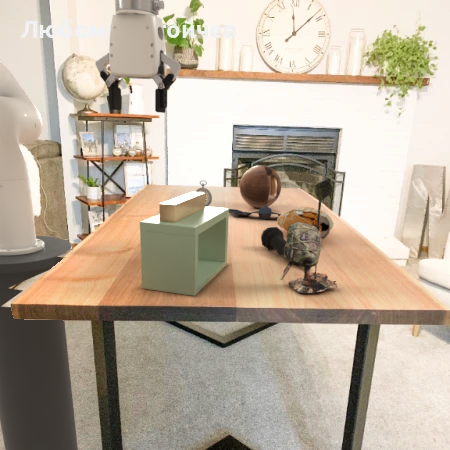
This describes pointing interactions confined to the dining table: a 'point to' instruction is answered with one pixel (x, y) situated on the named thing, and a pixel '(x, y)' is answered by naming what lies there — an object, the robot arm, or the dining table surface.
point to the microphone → (274, 240)
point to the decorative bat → (263, 212)
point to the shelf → (184, 251)
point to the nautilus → (306, 219)
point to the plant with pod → (308, 248)
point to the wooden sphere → (260, 186)
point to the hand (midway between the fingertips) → (137, 111)
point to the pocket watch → (206, 191)
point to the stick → (181, 206)
